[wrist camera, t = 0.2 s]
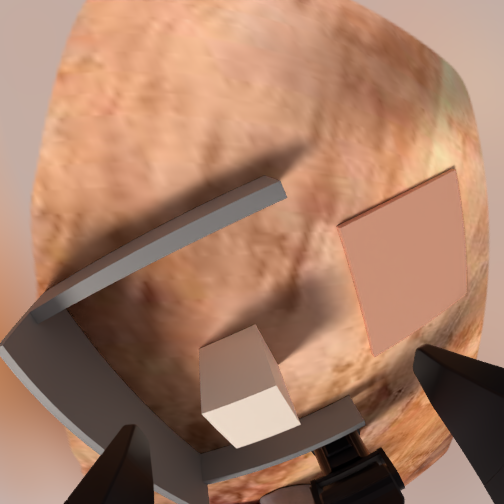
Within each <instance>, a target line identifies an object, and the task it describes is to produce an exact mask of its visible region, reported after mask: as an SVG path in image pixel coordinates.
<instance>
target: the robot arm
mask: <svg viewBox="0 0 504 504" xmlns="http://www.w3.org/2000/svg"><path fill="white" fill-rule="evenodd" d="M413 371H414V373H415V375H416V377H417V379H418V380H419V382H420V384H421V386H422V388H423V390H424V391H425V393H426V395H427V397H428V399H429V401H430V402H431V404H432V406H433V407H434V409H435V410H436V412H437V413H438V415H439V416H440V418H441V419H442V421H443V422H444V424H445V425H446V427H447V428H448V430H449V431H450V433H451V434H452V436H453V437H454V439H455V440H456V442H457V443H458V445H459V446H460V448H461V449H462V451H463V452H464V454H465V455H466V457H467V459H468V460H469V462H470V463H471V465H472V467H473V468H474V470H475V472H476V473H477V475H478V476H479V478H480V480H481V481H482V483H483V485H484V487H485V488H486V490H487V492H488V494H489V495H490V497H491V499H492V500H493V502H494V504H504V368H502V367H499V366H495V365H492V364H489V363H486V362H482V361H479V360H476V359H473V358H470V357H467V356H463V355H460V354H457V353H454V352H451V351H448V350H445V349H442V348H439V347H436V346H433V345H430V344H425V345H423V346H421V347H418V348H417V349H416V352H415V357H414V363H413ZM359 435H360V432H359V429H357V430H355V431H353V432H351V433H349V434H347V435H345V436H343V437H341V438H339V439H337V440H335V441H333V442H331V443H329V444H326V445H324V446H322V447H320V448H317V449H315V450H313V451H312V453H313V454H314V455H315V456H316V458H317V460H318V463H319V465H320V468H321V470H322V473H323V475H324V476H323V477H321V478H319V479H316V480H315V479H314V480H312V481H310V482H311V486H310V487H309V489H310V491H311V494H312V497H313V503H314V504H404V496H403V495H402V493H401V490H402V489H404V488H405V486H404V483H403V481H402V479H401V477H400V475H399V473H398V472H397V470H396V468H395V467H394V465H393V464H392V462H391V461H390V459H389V458H388V457H387V455H386V454H385V452H384V451H383V449H382V448H381V447H380V448H379V449H377V450H376V451H375V452H373V453H371V454H369V452H368V450H367V448H366V447H365V445H364V443H363V441H362V439H361V438H360V436H359ZM64 504H154V482H153V473H152V464H151V454H150V444H149V441H148V439H147V437H146V436H145V434H144V433H143V432H142V430H141V429H140V427H139V426H138V425H136V424H127V425H124V426H123V427H122V428H121V429H120V431H119V432H118V433H117V435H116V436H115V437H114V439H113V440H112V441H111V442H110V444H109V445H108V446H107V448H106V449H105V450H104V452H103V453H102V454H101V456H100V457H99V458H98V459H97V461H96V462H95V463H94V465H93V466H92V467H91V469H90V470H89V471H88V473H87V474H86V475H85V476H84V478H83V479H82V481H81V482H80V483H79V484H78V486H77V487H76V488H75V489H74V491H73V492H72V493H71V495H70V496H69V497H68V500H66V501H65V502H64Z"/></svg>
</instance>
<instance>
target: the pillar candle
mask: <svg viewBox="0 0 504 504" xmlns="http://www.w3.org/2000/svg"><path fill="white" fill-rule="evenodd" d="M310 486H311V485H296V486H290V487H286V488H281V489H278V490H276V491H274V492H272V493H270V494H267V495H265V496H263V497H262V498H261V499H260V504H314V503H313V497H312V494H311V491H310V489H309V487H310Z"/></svg>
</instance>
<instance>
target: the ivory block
mask: <svg viewBox="0 0 504 504" xmlns="http://www.w3.org/2000/svg"><path fill="white" fill-rule="evenodd" d="M199 371H200V394H201V413H202V415H203V416H204V417H205V418H206V419H207V420H208V421H209V422H210V423H211V424H212V425H213V426H214V427H215V428H216V429H217V430H218V431H219V432H220V433H221V434H222V435H223V436H224V437H225V438H226V439H227V440H228V441H229V442H230V443H231V444H232V445H233V446H234V447H235V448H240V447H243V446H246V445H249V444H252V443H255V442H257V441H260V440H263V439H266V438H268V437H271V436H274V435H276V434H279V433H281V432H284V431H286V430H289V429H291V428H294V427H296V426H298V425H301V424H300V421H299V418H298V416H297V413H296V411H295V408H294V406H293V403H292V400H291V398H290V395H289V392H288V390H287V387H286V385H285V382H284V379H283V377H282V374H281V371H280V369H279V366H278V364H277V362H276V360H275V359H274V357H273V355H272V353H271V351H270V349H269V348H268V346H267V344H266V342H265V340H264V339H263V337H262V335H261V333H260V331H259V329H258V328H257V326H256V324H254V325H252V326H250V327H248V328H246V329H243V330H241V331H239V332H237V333H234V334H232V335H230V336H228V337H225V338H223V339H221V340H219V341H216V342H214V343H212V344H209V345H207V346H205V347H202V348H200V349H199Z"/></svg>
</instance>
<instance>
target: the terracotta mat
mask: <svg viewBox="0 0 504 504" xmlns="http://www.w3.org/2000/svg"><path fill="white" fill-rule="evenodd" d="M337 229H338V232H339V236H340V239H341V242H342V245H343V248H344V251H345V255H346V258H347V261H348V264H349V268H350V271H351V275H352V278H353V282H354V285H355V289H356V292H357V296H358V300H359V303H360V307H361V311H362V315H363V319H364V323H365V327H366V331H367V335H368V339H369V344H370V348H371V352H372V355H373V356H374V357H376V356H377V355H379V354H381V353H382V352H384V351H386V350H387V349H389V348H391V347H392V346H394V345H395V344H397V343H399V342H400V341H402V340H403V339H405V338H406V337H408V336H409V335H411V334H412V333H414V332H415V331H417V330H418V329H420V328H421V327H423V326H424V325H426V324H427V323H428V322H430V321H431V320H433V319H434V318H435V317H437V316H438V315H440V314H441V313H442V312H444V311H445V310H446V309H448V308H449V307H450V306H452V305H453V304H454V303H456V302H457V301H458V300H459V299H461V298H462V297H463V296H464V295H466V294H467V266H466V246H465V233H464V223H463V214H462V206H461V199H460V192H459V186H458V180H457V175H456V170H454V169H450V170H448V171H446V172H444V173H442V174H440V175H438V176H436V177H434V178H433V179H431V180H429V181H427V182H425V183H423V184H421V185H419V186H417V187H415V188H413V189H411V190H409V191H407V192H405V193H403V194H401V195H399V196H397V197H395V198H393V199H391V200H389V201H387V202H385V203H383V204H381V205H379V206H377V207H375V208H373V209H371V210H369V211H367V212H365V213H363V214H361V215H359V216H357V217H355V218H353V219H351V220H348V221H346V222H344V223H342V224H340V225H338V226H337Z"/></svg>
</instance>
